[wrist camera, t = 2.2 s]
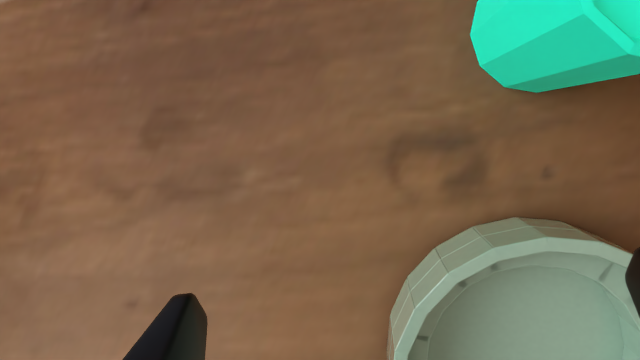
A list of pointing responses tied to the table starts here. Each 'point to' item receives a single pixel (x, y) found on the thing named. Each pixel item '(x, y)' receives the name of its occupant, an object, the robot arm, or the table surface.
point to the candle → (556, 41)
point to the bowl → (517, 297)
